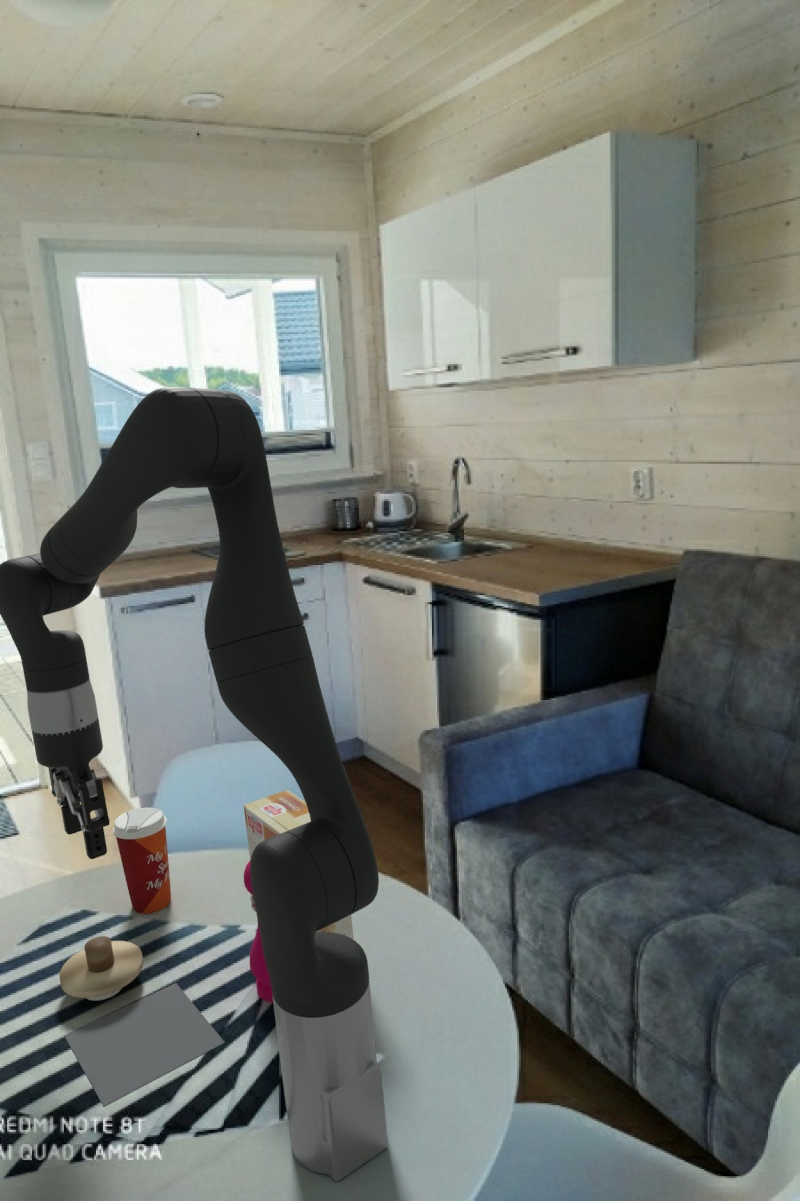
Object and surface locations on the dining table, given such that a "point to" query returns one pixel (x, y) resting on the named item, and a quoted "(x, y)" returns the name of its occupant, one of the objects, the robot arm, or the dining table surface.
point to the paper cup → (144, 858)
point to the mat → (141, 1042)
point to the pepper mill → (258, 952)
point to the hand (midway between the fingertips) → (85, 843)
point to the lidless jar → (104, 996)
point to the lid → (101, 968)
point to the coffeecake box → (278, 818)
